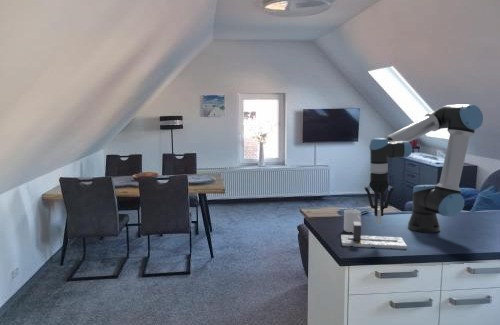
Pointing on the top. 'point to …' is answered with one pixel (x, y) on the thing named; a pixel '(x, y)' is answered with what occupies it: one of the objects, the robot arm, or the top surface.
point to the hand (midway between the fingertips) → (378, 222)
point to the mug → (351, 219)
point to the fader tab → (357, 230)
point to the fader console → (374, 242)
